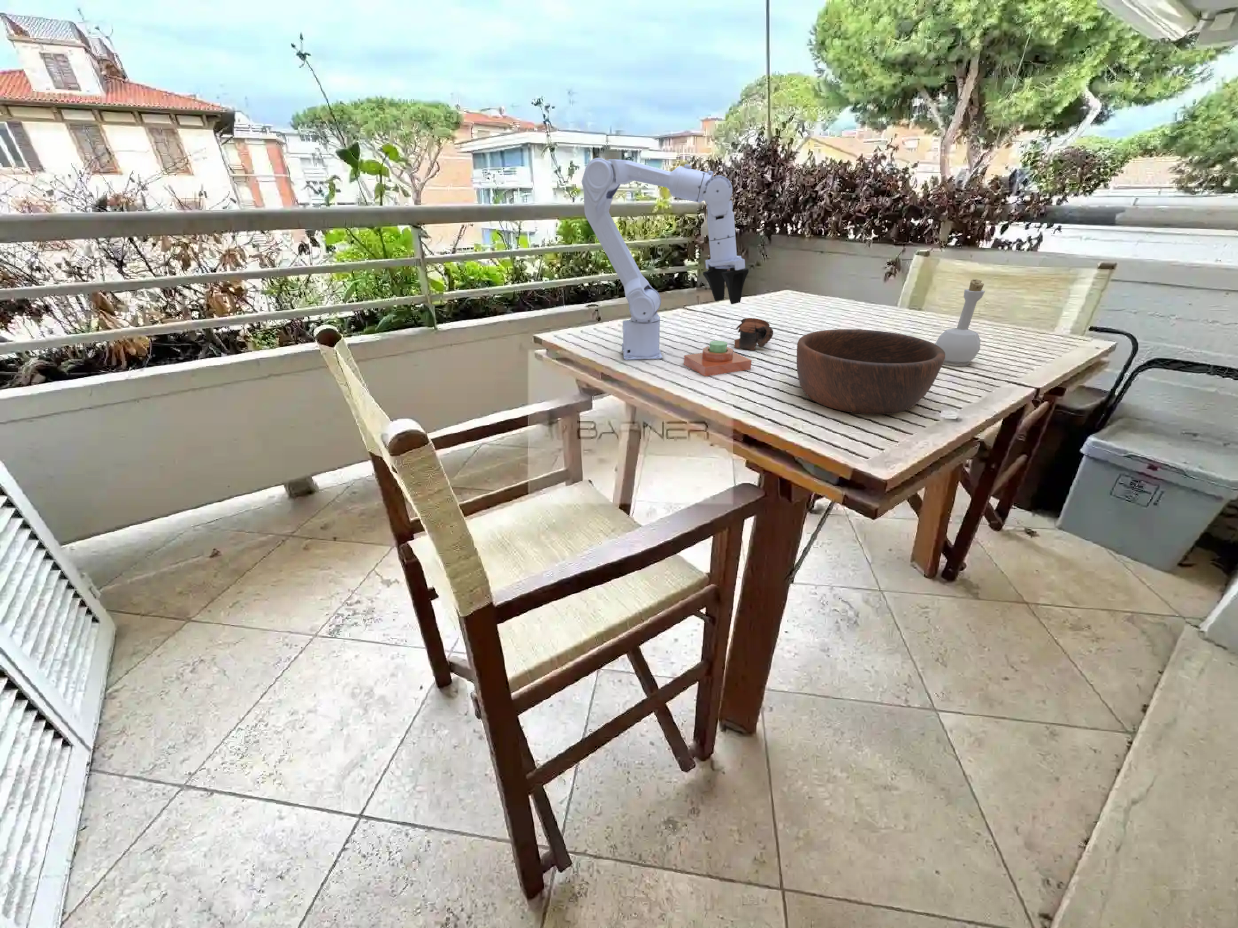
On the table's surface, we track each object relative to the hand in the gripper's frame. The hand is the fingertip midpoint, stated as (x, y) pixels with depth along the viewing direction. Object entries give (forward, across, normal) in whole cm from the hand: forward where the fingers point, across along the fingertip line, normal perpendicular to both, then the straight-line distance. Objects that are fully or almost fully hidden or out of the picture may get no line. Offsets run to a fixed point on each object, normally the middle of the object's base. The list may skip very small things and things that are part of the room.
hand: (727, 301), depth 112 cm
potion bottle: (+22, -20, -46) cm, 55 cm away
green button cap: (+10, -4, +6) cm, 12 cm away
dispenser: (+13, -4, +6) cm, 15 cm away
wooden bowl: (+18, -30, -10) cm, 37 cm away
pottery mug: (+15, +8, -11) cm, 20 cm away
